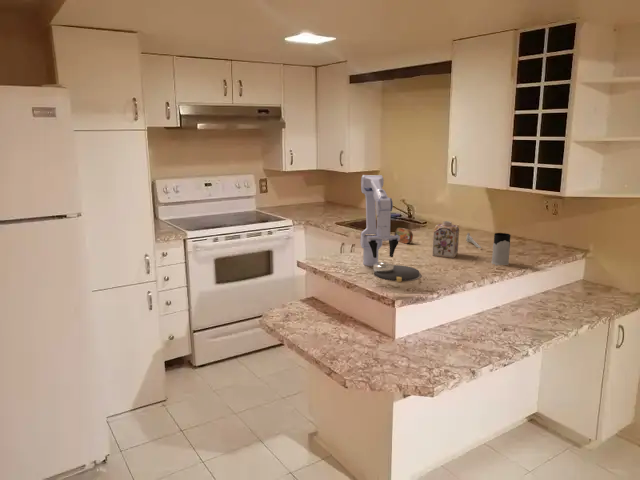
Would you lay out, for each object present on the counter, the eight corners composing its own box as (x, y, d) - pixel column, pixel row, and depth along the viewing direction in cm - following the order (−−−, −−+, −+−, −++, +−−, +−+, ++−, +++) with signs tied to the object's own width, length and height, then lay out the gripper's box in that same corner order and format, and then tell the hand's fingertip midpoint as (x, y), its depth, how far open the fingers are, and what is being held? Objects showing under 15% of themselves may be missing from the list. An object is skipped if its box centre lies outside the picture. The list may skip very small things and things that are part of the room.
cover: (372, 267, 227) (373, 260, 226) (392, 268, 227) (392, 260, 226) (373, 273, 218) (374, 265, 218) (394, 273, 218) (394, 265, 217)
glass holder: (494, 265, 243) (496, 236, 240) (484, 258, 257) (487, 230, 254) (511, 266, 243) (514, 236, 240) (501, 259, 257) (504, 230, 254)
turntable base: (371, 269, 234) (371, 267, 234) (417, 270, 233) (417, 268, 233) (373, 283, 213) (373, 280, 212) (424, 284, 211) (424, 281, 211)
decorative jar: (458, 253, 268) (460, 221, 264) (454, 258, 257) (456, 224, 254) (436, 251, 273) (437, 219, 269) (431, 255, 262) (433, 222, 259)
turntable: (373, 267, 233) (373, 264, 233) (416, 268, 232) (416, 265, 231) (375, 281, 211) (375, 277, 211) (422, 282, 210) (423, 279, 210)
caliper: (465, 242, 297) (466, 232, 296) (467, 242, 297) (468, 232, 296) (480, 250, 277) (481, 239, 276) (482, 250, 278) (483, 239, 276)
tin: (393, 240, 301) (394, 226, 300) (398, 239, 303) (398, 226, 301) (409, 245, 288) (409, 230, 286) (413, 244, 290) (414, 230, 288)
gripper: (371, 227, 207) (370, 259, 209) (403, 226, 211) (402, 258, 213) (365, 225, 214) (364, 256, 216) (396, 224, 218) (395, 255, 220)
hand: (383, 257), depth 215 cm, fingers open, 7 cm apart
